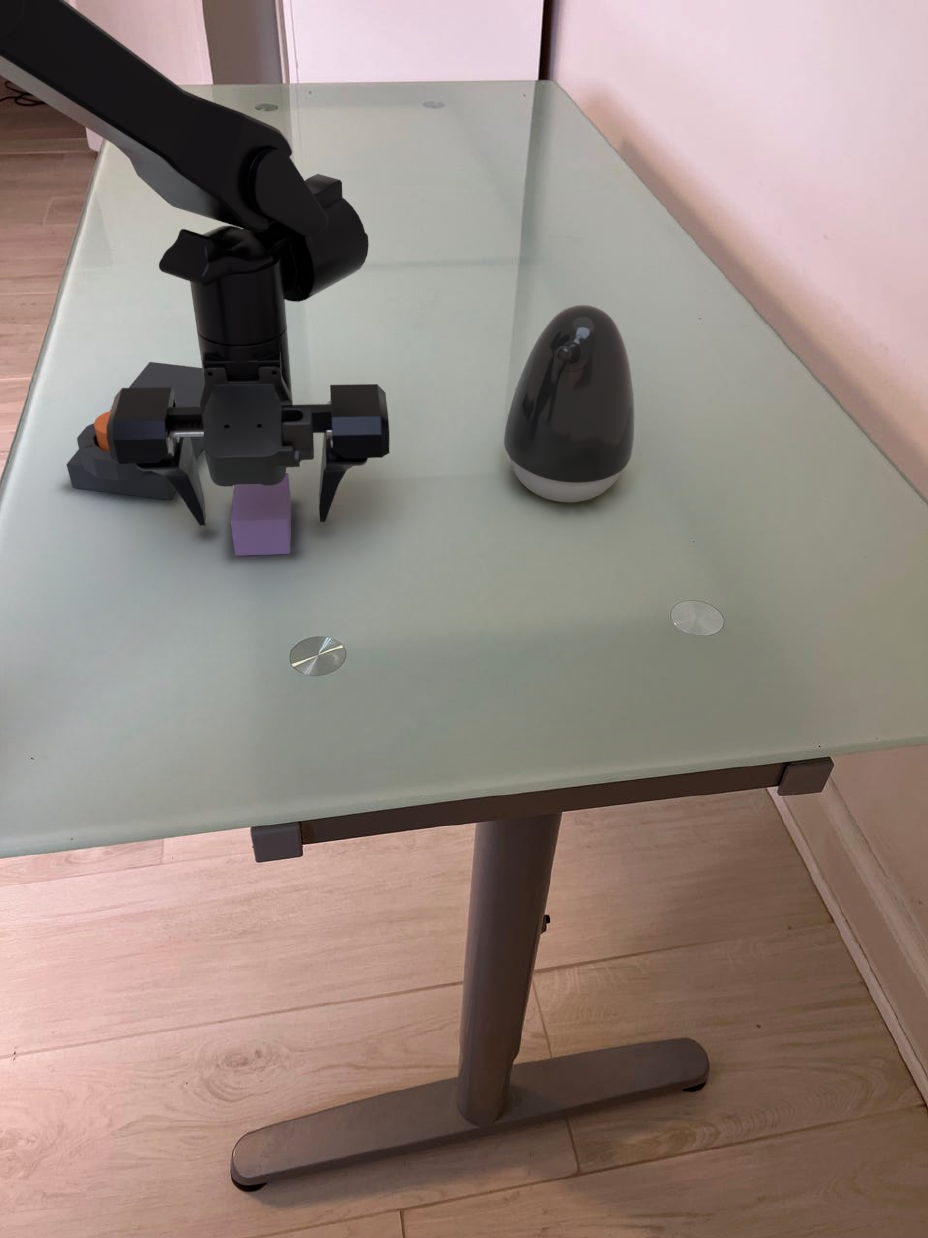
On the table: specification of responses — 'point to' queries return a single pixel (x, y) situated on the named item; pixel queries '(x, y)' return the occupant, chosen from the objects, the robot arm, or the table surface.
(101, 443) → the orange push button
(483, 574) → the table surface
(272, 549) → the soap bar
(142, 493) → the button base
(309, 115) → the table surface
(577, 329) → the dark grey egg dome
